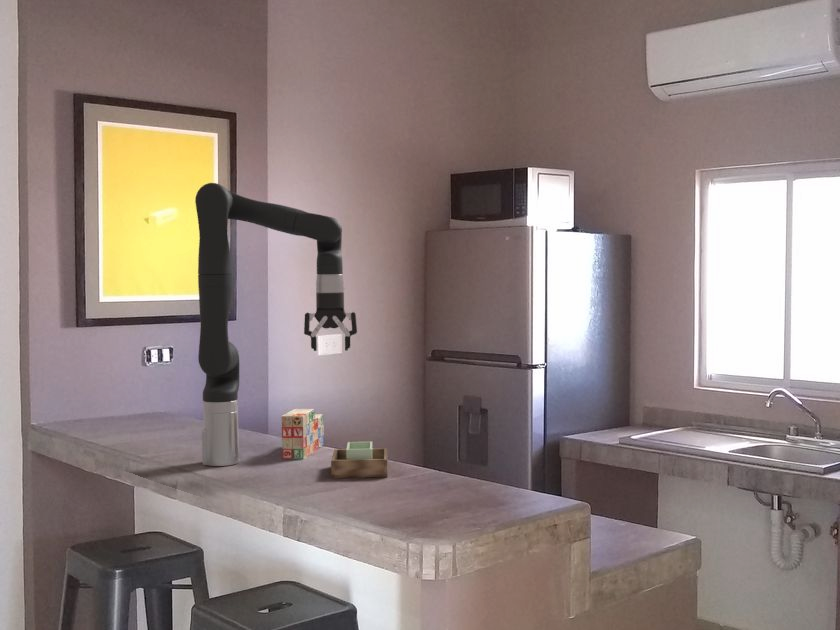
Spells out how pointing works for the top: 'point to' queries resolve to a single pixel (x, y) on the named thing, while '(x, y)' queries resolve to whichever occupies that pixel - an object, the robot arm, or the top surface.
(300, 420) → the stack of blocks
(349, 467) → the big crate
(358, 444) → the small crate
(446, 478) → the top surface
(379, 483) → the top surface
